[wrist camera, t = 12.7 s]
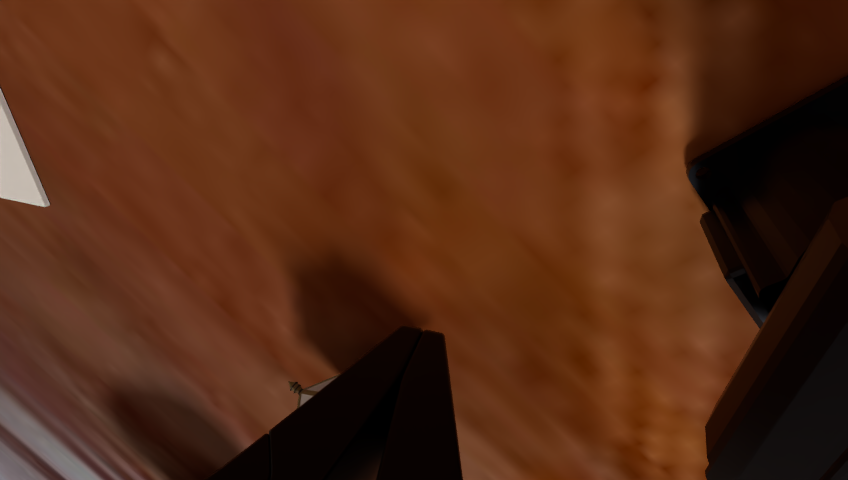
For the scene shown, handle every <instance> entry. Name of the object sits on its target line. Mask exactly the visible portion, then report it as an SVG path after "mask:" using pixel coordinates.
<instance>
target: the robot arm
mask: <svg viewBox="0 0 848 480" xmlns="http://www.w3.org/2000/svg"><path fill="white" fill-rule="evenodd" d="M703 167H707V168H709V171H708V173H707V174H705V175H703V176H697V175H696V172H697V171H698V170H699V169H700V168H703ZM686 173H687V176H688V178H689V180H690V182H691V184H692V185H693V187H694V188H695V189H696V191H697V192H698V194H699V195H700V197H701V198H702V200H703V201H704V203H705V204H706V206H707V207H708V209H709V210H710V211H708V212H706V213H704V214H702V216H701V219H700V224H701V226H702V228H703V230H704V233H705V235H706V237H707V239H708V242H709V244H710V246H711V248H712V251H713V253H714V255H715V257H716V260H717V262H718V264H719V266H720V269H721V271H722V273H723V275H724V278H725V279H726V281H727V282H728V284H729V285H730V287H731V288H732V290H733V291H734V292H735V294H736V295H737V297H738V298H739V300H740V301H741V302H742V304H743V305H744V307H745V308H746V310H747V311H748V313H749V314H750V315H751V317H752V318H753V320H754V321H755V323H756V324H757V325H758V327H759V328H760V330H759V332H758V333H757V335H756V337H755V339H754V340H753V342H752V344H751V345H750V347H749V349H748V351H747V352H746V354H745V356H744V357H743V359H742V361H741V362H740V364H739V366H738V368H737V369H736V371H735V373H734V374H733V376H732V378H731V380H730V381H729V383H728V385H727V386H726V388H725V390H724V391H723V393H722V395H721V397H720V398H719V400H718V402H717V403H716V405H715V407H714V409H713V411H712V414H711V416H710V418H709V420H708V422H707V424H706V426H705V430H706V447H707V458H708V462H709V465H708V467H707V468H706V470H705V474H706V478H707V480H848V76H846V77H844V78H842V79H840V80H839V81H837V82H835V83H833V84H831V85H829V86H828V87H826V88H824V89H822V90H820V91H818V92H817V93H815V94H813V95H811V96H809V97H807V98H806V99H804V100H802V101H800V102H798V103H796V104H795V105H793V106H791V107H789V108H787V109H785V110H784V111H782V112H780V113H778V114H776V115H775V116H773V117H771V118H769V119H767V120H765V121H764V122H762V123H760V124H758V125H756V126H754V127H753V128H751V129H749V130H747V131H745V132H743V133H742V134H740V135H738V136H736V137H734V138H732V139H731V140H729V141H727V142H725V143H723V144H721V145H720V146H718V147H716V148H714V149H712V150H710V151H709V152H707V153H705V154H703V155H701V156H699V157H698V158H696V159H694V160H693V161H692V162H690V163H689V165H688V166H687V170H686ZM204 480H463V477H462V469H461V461H460V453H459V445H458V437H457V430H456V422H455V414H454V406H453V398H452V390H451V383H450V375H449V367H448V359H447V351H446V343H445V336H444V334H443V333H439V332H435V331H430V330H424V331H423V330H422V329H421V328H417V327H413V326H408V325H403V326H401V327H399V328H398V329H397V330H395V331H394V332H393V333H392V334H390V335H389V336H388V337H387V338H385V339H384V340H383V341H382V342H380V343H379V344H378V345H377V346H375V347H374V348H373V349H372V350H370V351H369V352H368V353H367V354H365V355H364V356H363V357H361V358H360V359H359V360H358V361H356V362H355V363H354V364H353V365H351V366H350V367H349V368H348V369H346V370H345V371H344V372H343V373H341V374H340V375H339V376H338V377H336V378H335V379H334V380H333V381H331V382H330V383H329V384H328V385H326V386H325V387H324V388H322V389H321V390H320V391H319V392H317V393H316V394H315V395H314V396H312V397H311V398H310V399H309V400H307V401H306V402H305V403H304V404H302V405H301V406H300V407H299V408H297V409H296V410H295V411H294V412H292V413H291V414H290V415H288V416H287V417H286V418H285V419H283V420H282V421H281V422H280V423H278V424H277V425H276V426H275V427H273V428H272V429H271V430H270V431H269V434H264V435H263V436H262V437H261V438H259V439H258V440H257V441H255V442H254V443H253V444H252V445H250V446H249V447H248V448H247V449H245V450H244V451H243V452H241V453H240V454H239V455H237V456H236V457H235V458H233V459H232V460H231V461H229V462H228V463H227V464H225V465H224V466H223V467H221V468H220V469H219V470H217V471H216V472H214V473H213V474H211V475H210V476H208V477H207V478H205V479H204Z"/></svg>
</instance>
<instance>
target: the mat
mask: <svg viewBox="0 0 848 480" xmlns="http://www.w3.org/2000/svg"><path fill="white" fill-rule="evenodd" d="M0 198H5V199H9V200H14V201H19V202H24V203H28V204H33V205H38V206H43V207H47V206H49V205H50V203H49V201H48V198H47V196H46V194H45V191H44V189H43V187H42V184H41V182H40V180H39V177H38V175H37V173H36V170H35V168H34V166H33V163H32V161H31V159H30V156H29V154H28V152H27V149H26V147H25V145H24V142H23V140H22V138H21V135H20V133H19V131H18V128H17V126H16V123H15V121H14V119H13V116H12V114H11V112H10V109H9V107H8V105H7V102H6V100H5V98H4V95H3V93H2V91H1V88H0Z"/></svg>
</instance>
